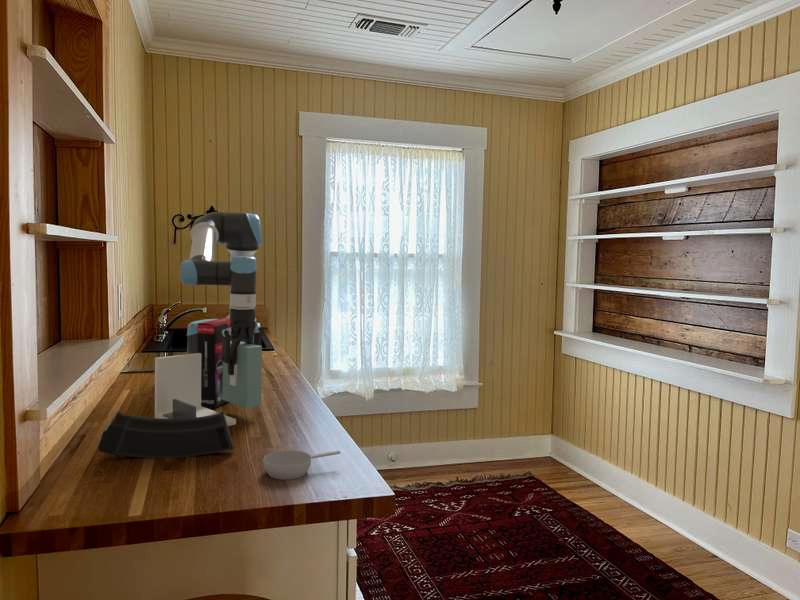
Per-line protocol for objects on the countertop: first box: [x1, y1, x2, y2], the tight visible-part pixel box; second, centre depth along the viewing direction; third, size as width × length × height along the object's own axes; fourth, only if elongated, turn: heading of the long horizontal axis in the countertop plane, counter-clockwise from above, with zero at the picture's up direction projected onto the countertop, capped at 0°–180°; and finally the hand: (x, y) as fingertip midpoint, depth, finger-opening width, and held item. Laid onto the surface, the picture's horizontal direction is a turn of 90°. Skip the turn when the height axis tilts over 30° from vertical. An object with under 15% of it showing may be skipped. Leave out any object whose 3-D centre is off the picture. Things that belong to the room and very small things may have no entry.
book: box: [222, 341, 263, 409], centre depth 178 cm, size 5×13×18 cm, turn 48°
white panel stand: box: [154, 353, 237, 427], centre depth 171 cm, size 14×21×18 cm, turn 48°
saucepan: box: [263, 449, 341, 481], centre depth 136 cm, size 11×18×4 cm, turn 113°
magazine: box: [97, 411, 235, 459], centre depth 142 cm, size 17×3×30 cm
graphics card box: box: [197, 317, 237, 409], centre depth 193 cm, size 17×7×27 cm, turn 168°
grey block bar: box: [163, 399, 196, 419], centre depth 168 cm, size 4×12×4 cm, turn 48°
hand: (241, 383), depth 178 cm, fingers closed on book, 5 cm apart
